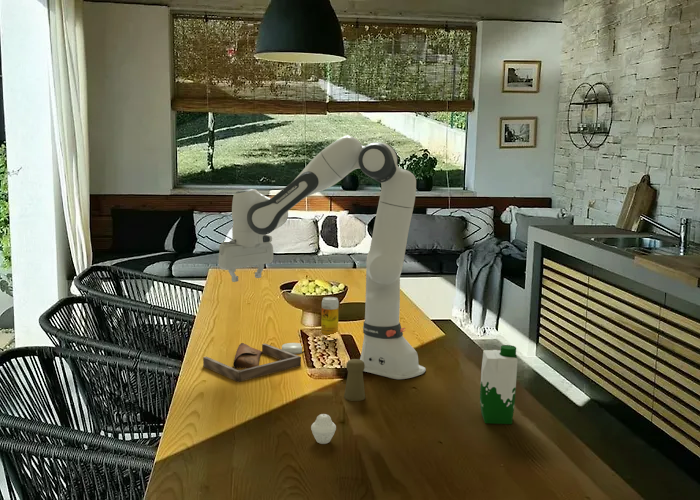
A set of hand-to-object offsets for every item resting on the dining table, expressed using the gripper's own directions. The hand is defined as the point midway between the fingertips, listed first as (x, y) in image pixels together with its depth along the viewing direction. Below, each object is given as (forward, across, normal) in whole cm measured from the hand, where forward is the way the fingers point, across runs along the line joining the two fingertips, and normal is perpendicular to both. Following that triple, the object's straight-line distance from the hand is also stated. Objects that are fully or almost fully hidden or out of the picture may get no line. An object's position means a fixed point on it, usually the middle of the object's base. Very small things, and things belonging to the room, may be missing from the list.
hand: (246, 279), depth 249 cm
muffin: (+26, -29, -70) cm, 80 cm away
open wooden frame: (+25, -7, -12) cm, 29 cm away
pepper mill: (+26, -2, -53) cm, 59 cm away
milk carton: (+27, +16, -89) cm, 95 cm away
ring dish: (+26, +14, -7) cm, 30 cm away
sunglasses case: (+26, -4, -6) cm, 27 cm away
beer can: (+26, +33, -5) cm, 42 cm away
